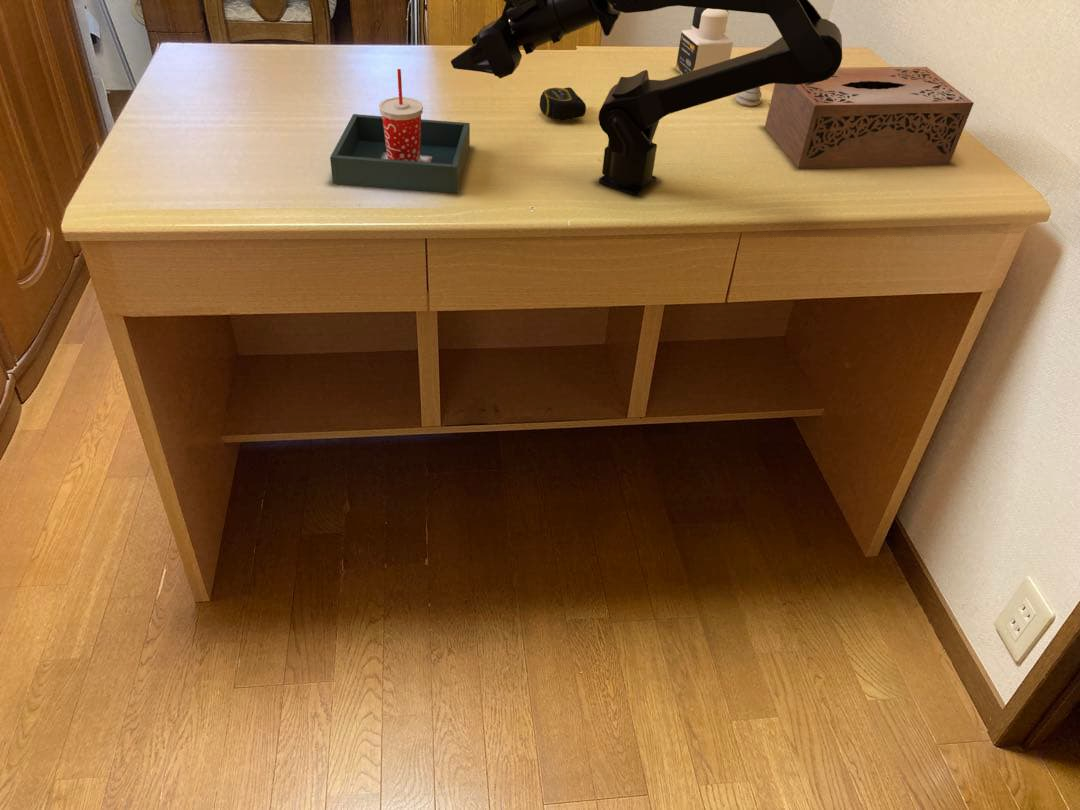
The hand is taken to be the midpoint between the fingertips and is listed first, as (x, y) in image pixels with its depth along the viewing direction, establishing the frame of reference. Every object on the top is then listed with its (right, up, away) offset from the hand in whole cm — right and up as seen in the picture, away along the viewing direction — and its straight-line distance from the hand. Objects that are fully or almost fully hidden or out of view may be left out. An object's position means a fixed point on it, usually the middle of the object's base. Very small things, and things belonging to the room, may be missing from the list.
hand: (462, 53), depth 121 cm
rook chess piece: (+47, +4, +31) cm, 57 cm away
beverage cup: (-9, -14, +7) cm, 18 cm away
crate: (-9, -14, +7) cm, 18 cm away
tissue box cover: (+62, -7, +20) cm, 66 cm away
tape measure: (+15, -1, +23) cm, 27 cm away
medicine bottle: (+40, +12, +40) cm, 58 cm away
